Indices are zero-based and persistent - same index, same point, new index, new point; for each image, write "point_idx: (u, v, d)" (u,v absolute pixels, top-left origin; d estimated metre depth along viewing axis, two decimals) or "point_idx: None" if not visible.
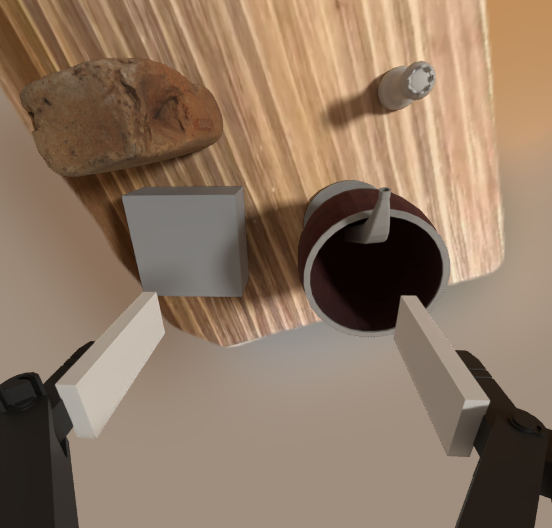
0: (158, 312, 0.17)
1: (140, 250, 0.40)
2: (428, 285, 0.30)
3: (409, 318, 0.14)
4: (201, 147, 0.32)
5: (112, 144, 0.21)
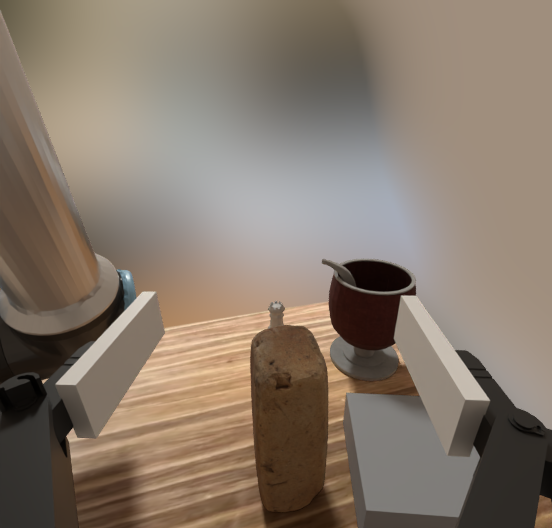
0: (158, 312, 0.17)
1: (441, 505, 0.29)
2: (375, 273, 0.56)
3: (409, 318, 0.14)
4: None
5: (302, 334, 0.31)
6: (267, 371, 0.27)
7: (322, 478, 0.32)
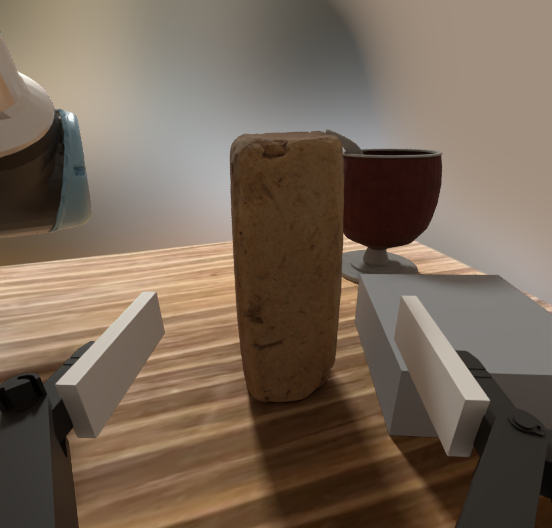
0: (158, 312, 0.17)
1: (511, 364, 0.20)
2: None
3: (409, 318, 0.14)
4: None
5: (302, 133, 0.22)
6: (250, 140, 0.17)
7: (333, 345, 0.22)
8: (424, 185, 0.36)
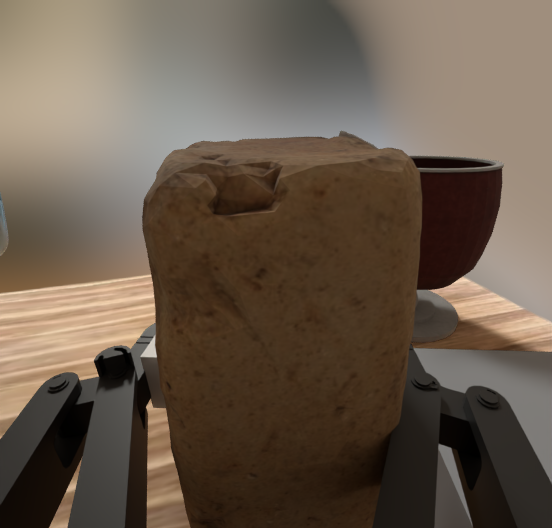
0: None
1: None
2: None
3: None
4: None
5: (315, 140, 0.11)
6: (185, 161, 0.07)
7: None
8: (481, 210, 0.25)
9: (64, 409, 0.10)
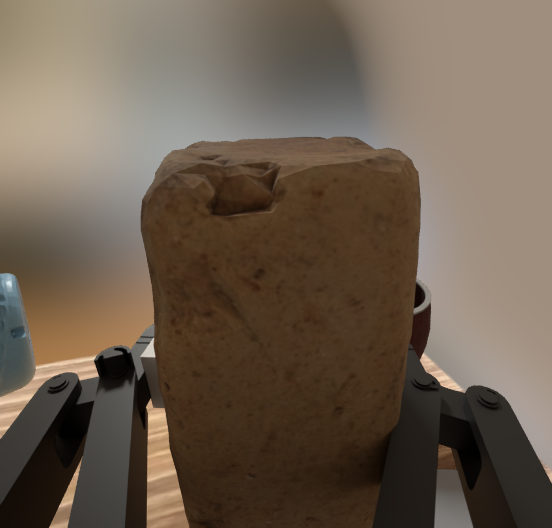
0: None
1: None
2: None
3: None
4: None
5: (313, 140, 0.11)
6: (183, 162, 0.07)
7: None
8: (410, 342, 0.32)
9: (64, 409, 0.10)
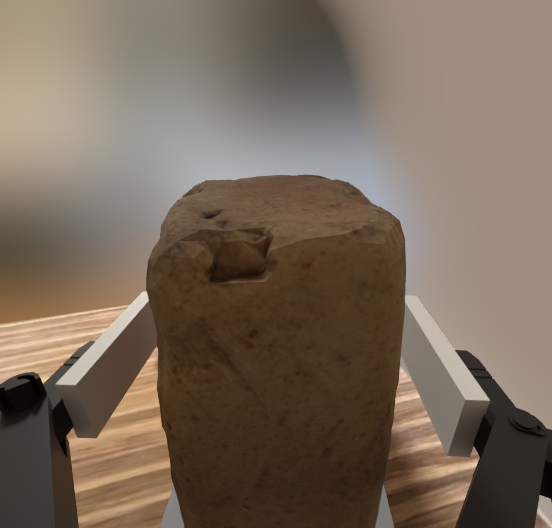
0: None
1: None
2: None
3: (409, 318, 0.14)
4: None
5: (313, 181, 0.12)
6: (186, 226, 0.07)
7: None
8: None
9: None
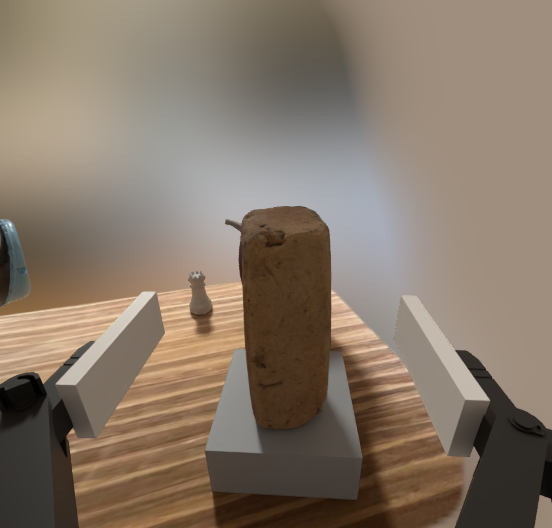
0: (158, 312, 0.17)
1: (284, 444, 0.28)
2: None
3: (409, 318, 0.14)
4: None
5: (300, 210, 0.26)
6: (256, 230, 0.22)
7: (325, 384, 0.27)
8: None
9: None
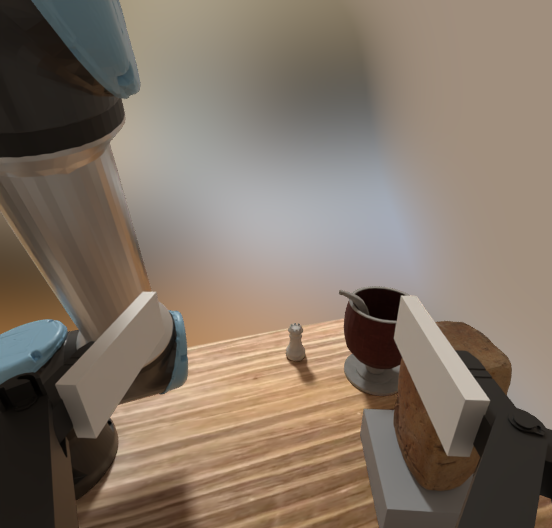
0: (158, 312, 0.17)
1: (446, 504, 0.36)
2: (384, 298, 0.63)
3: (409, 318, 0.14)
4: None
5: (467, 329, 0.35)
6: None
7: None
8: None
9: None
